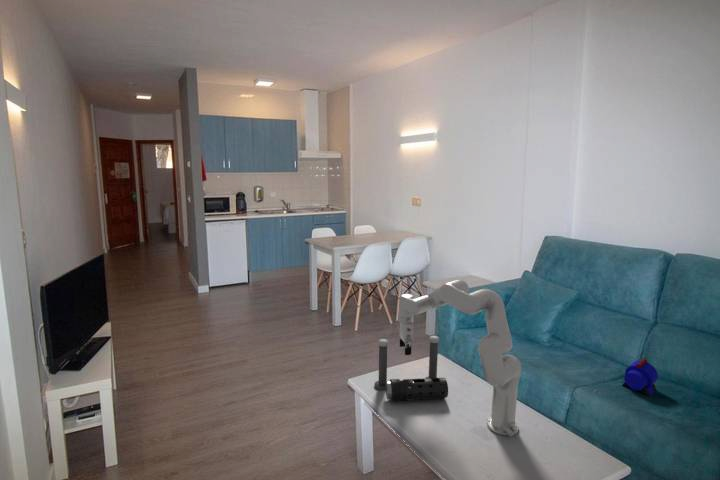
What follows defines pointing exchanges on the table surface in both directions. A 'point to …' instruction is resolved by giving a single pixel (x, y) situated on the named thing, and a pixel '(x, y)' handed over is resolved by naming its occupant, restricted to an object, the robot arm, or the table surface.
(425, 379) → the muzzle brake
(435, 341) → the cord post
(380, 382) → the cord post
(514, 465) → the table surface
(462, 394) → the table surface
